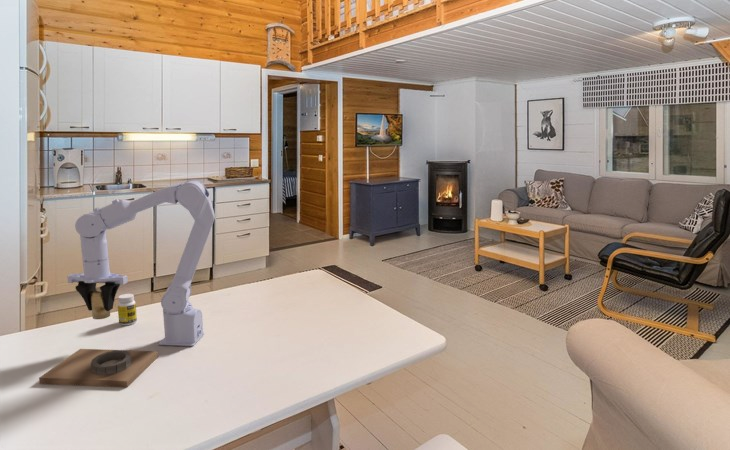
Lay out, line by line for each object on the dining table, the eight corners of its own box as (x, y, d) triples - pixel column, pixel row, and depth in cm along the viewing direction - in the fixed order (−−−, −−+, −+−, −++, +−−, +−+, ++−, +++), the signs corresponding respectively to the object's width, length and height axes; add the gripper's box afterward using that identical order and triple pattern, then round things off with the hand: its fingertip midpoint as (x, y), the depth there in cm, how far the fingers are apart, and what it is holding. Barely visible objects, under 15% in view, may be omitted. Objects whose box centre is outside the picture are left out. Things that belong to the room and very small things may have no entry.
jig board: (158, 356, 113) (157, 344, 112) (127, 387, 99) (126, 372, 99) (80, 354, 114) (79, 341, 113) (39, 383, 100) (37, 369, 99)
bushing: (113, 313, 119) (111, 288, 117) (104, 319, 115) (101, 293, 114) (98, 313, 119) (96, 288, 118) (89, 319, 115) (86, 293, 114)
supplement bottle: (129, 326, 131) (127, 299, 129) (115, 325, 131) (112, 297, 130) (140, 320, 135) (138, 293, 134) (126, 318, 136) (124, 292, 134)
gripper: (56, 262, 110) (62, 314, 113) (114, 264, 110) (119, 316, 112) (75, 255, 117) (81, 304, 120) (130, 256, 117) (134, 305, 119)
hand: (100, 309), depth 117 cm, fingers closed on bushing, 4 cm apart
